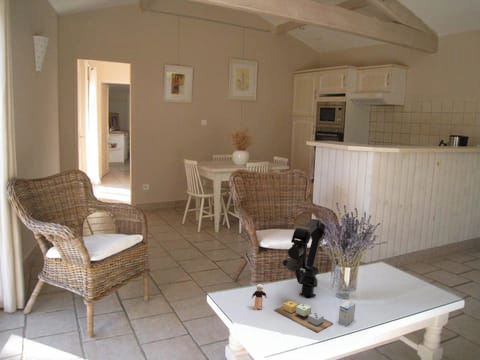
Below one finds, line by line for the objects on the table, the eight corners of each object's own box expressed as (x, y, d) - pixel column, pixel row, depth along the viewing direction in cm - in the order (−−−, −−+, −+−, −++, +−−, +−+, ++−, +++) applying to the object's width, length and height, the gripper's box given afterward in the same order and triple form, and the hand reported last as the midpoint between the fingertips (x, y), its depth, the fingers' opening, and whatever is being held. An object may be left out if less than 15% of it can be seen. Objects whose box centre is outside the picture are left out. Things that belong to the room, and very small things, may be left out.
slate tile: (314, 317, 189) (315, 311, 189) (323, 322, 186) (323, 315, 185) (308, 321, 186) (308, 315, 186) (316, 325, 182) (317, 319, 182)
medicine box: (345, 317, 193) (346, 300, 192) (354, 320, 191) (355, 303, 189) (338, 323, 187) (339, 305, 186) (347, 326, 185) (348, 308, 183)
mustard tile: (290, 306, 200) (290, 300, 200) (298, 309, 197) (298, 304, 196) (283, 309, 197) (283, 303, 196) (291, 313, 193) (291, 307, 193)
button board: (290, 303, 205) (290, 302, 205) (333, 324, 186) (333, 322, 186) (274, 310, 197) (274, 309, 197) (317, 333, 178) (317, 331, 178)
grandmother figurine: (252, 311, 196) (253, 286, 194) (250, 307, 200) (251, 283, 198) (267, 309, 198) (268, 285, 196) (264, 305, 202) (266, 282, 200)
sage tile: (302, 309, 195) (302, 303, 194) (310, 313, 191) (310, 307, 190) (295, 312, 191) (295, 306, 191) (303, 316, 188) (304, 310, 187)
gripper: (276, 251, 201) (274, 280, 203) (305, 262, 187) (303, 293, 190) (290, 246, 208) (288, 275, 211) (320, 257, 195) (318, 287, 197)
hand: (299, 282), depth 202 cm, fingers closed
